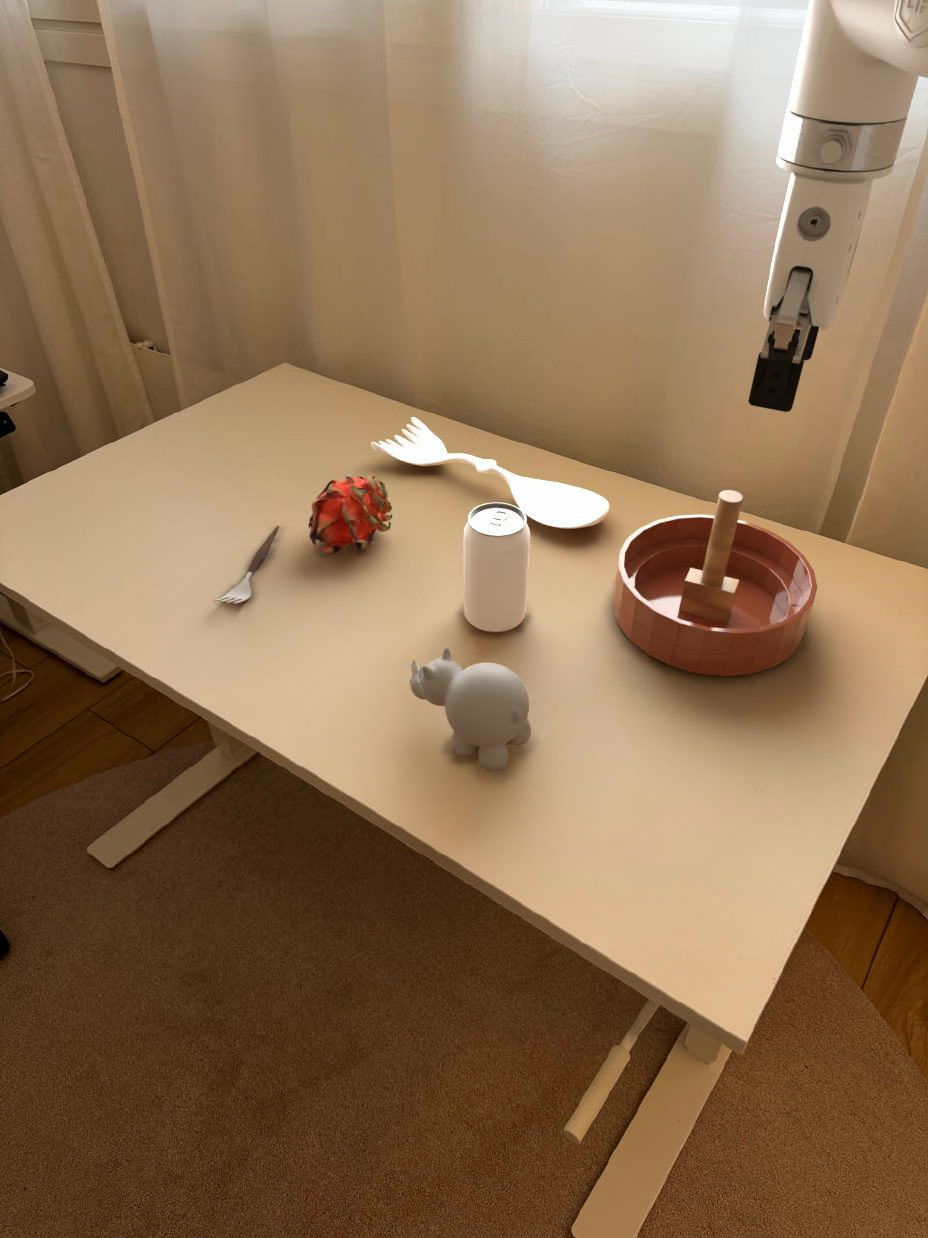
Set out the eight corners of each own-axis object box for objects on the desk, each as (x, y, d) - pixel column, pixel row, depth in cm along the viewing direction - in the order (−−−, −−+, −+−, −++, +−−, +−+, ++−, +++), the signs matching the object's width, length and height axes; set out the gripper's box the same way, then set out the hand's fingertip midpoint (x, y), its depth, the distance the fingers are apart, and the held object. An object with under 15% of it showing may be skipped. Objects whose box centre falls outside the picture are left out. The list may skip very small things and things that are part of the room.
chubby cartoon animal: (440, 679, 86) (438, 612, 80) (543, 738, 80) (548, 669, 74) (389, 723, 81) (383, 655, 76) (494, 788, 76) (496, 719, 70)
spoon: (413, 435, 121) (412, 412, 119) (620, 515, 107) (624, 490, 104) (369, 463, 116) (367, 439, 114) (581, 551, 101) (584, 525, 99)
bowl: (814, 585, 96) (829, 540, 92) (784, 703, 83) (799, 656, 79) (641, 542, 102) (648, 498, 98) (587, 645, 89) (593, 599, 85)
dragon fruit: (396, 528, 107) (328, 588, 102) (347, 476, 107) (275, 533, 101) (421, 498, 100) (348, 561, 94) (368, 442, 100) (292, 502, 94)
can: (454, 625, 92) (452, 529, 84) (477, 588, 96) (477, 494, 88) (513, 641, 90) (517, 544, 82) (534, 603, 94) (540, 507, 86)
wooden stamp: (731, 610, 93) (760, 495, 83) (727, 623, 91) (755, 508, 82) (684, 597, 94) (707, 483, 85) (678, 610, 92) (701, 496, 83)
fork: (289, 530, 104) (287, 516, 103) (238, 617, 93) (235, 603, 91) (268, 528, 105) (266, 514, 104) (214, 614, 93) (211, 600, 92)
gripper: (886, 182, 53) (813, 440, 64) (908, 120, 64) (843, 346, 76) (757, 168, 55) (708, 419, 66) (801, 110, 67) (753, 331, 78)
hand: (780, 380), depth 71 cm, fingers open, 9 cm apart
